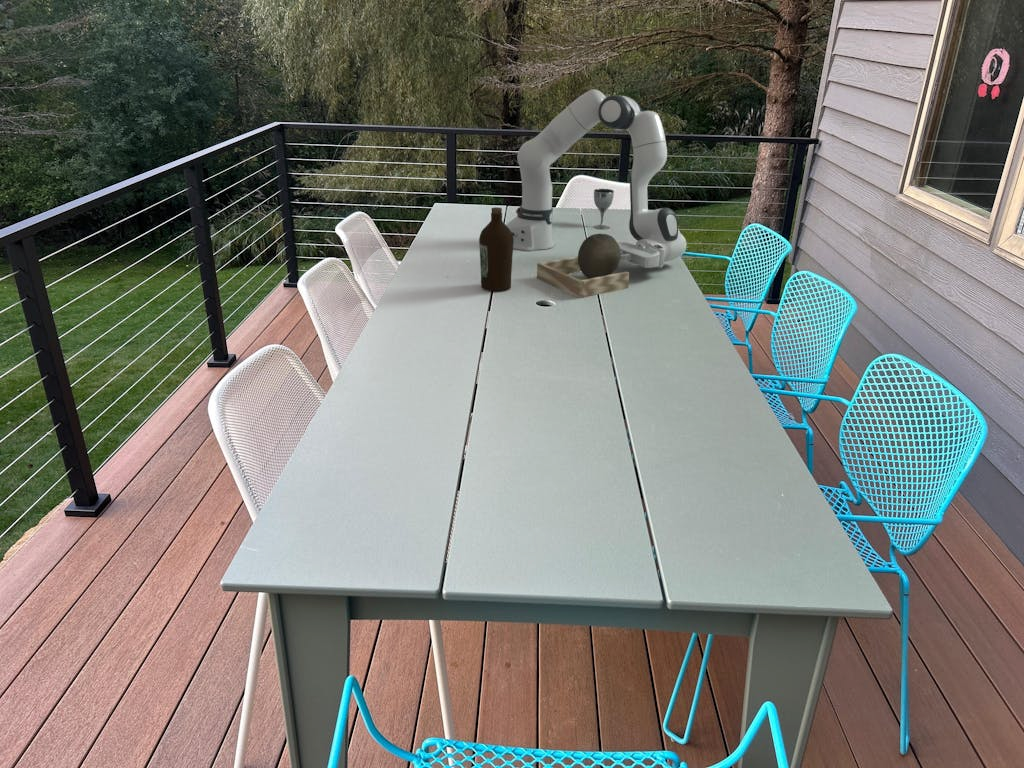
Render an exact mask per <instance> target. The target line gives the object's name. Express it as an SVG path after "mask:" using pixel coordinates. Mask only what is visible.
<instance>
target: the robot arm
mask: <svg viewBox="0 0 1024 768" xmlns="http://www.w3.org/2000/svg"><path fill="white" fill-rule="evenodd" d="M600 123H601V124H602V125H603V126H604V127H606V128H608V129H611V130H615V131H627V133H629V135H630V137H631V139H630V140H631V144H632V150H633V151H632V152H633V160H632V162H633V163H632V168H631V170H630V172H629V174H630V175H629V195H630V196H629V197H630V201H629V203H630V204H629V205H630V216H629V222H628V228H629V232H630V234H631V236H632V238H634V239H635V240H636V241H637V242H636V243H635V244H632V243H630V242H625V241H618V242H617V241H616V242H617V243H618V245H619V247H620V250H621V260H620V262H629V263H631V264H633V265H637V266H639V267H641V268H645V269H652V268H653V269H654V268H663V267H664V262H670V261H673V260H675V259H678V258H680V257H682V255H684V254H685V252H686V250H687V240H686V238H685V236H684V235H683V234H682V233H681V231H680V229H679V222H678V221H679V220H678V217H677V215H676V213H675V212H674V210H673V209H671V208H669V207H662V208H656V209H653V210H649V207H648V206H649V205H648V204H649V201H648V185H649V183H650V182H651V179H652V178H653V177H655V176H656V174H657V173H659V171H661V169H663V168H664V166H665V164H666V162H667V159H668V146H667V142H666V134H665V130H664V127H663V123H662V121H661V118H660V116H659V113H657V112H656V111H653V110H642V106H641V105H640V104H639V103H638V101H637V100H635V99H633V98H631V97H629V96H626V95H620V94H612V95H609V96H606V95H605V94H604V93H603V92H601V91H600V90H598V89H595V88H594V89H589V90H588V91H586V92H584V93H583V94H581V95H580V96H579V97H578V98H576V99H574V100H573V101H572V102H571V103H569V105H567V106H566V107H565V108H564V109H563V110H562V111H561V112H560V113H558V114H557V115H556V116H555V117H554V118H553V119H552V120H551V121H550V122H549V123H548V125H546V126H545V128H544V129H543V130H542V131H540V132H539V133H538V134H537V135H536V136H535V137H534V138H531V139H529V140H527V141H525V142H524V143H523V144H521V146H520V148H519V149H518V152H517V155H516V158H517V160H516V161H517V163H518V166H519V171H520V179H521V187H522V189H521V191H522V193H521V205H519V207H517V209H516V210H515V213H516V215H517V216H516V217H515V218H513V219H511V220H510V221H509V222H508V223H506V224H505V225H506V226H507V227H508V228H509V229H510V231H511V232H512V235H513V239H514V243H513V249H516V250H522V251H526V252H530V251H536V250H539V251H540V250H547V249H552V248H554V247H555V245H556V244H555V241H554V235H553V225H552V223H553V220H554V219H553V218H554V213H553V212H554V209H553V207H552V206H553V189H554V188H553V184H552V180H551V172H550V166H551V165H552V164H554V163H555V162H556V161H557V160H558V159H559V158H560V157H561V156H562V155H564V154H565V153H566V152H567V151H568V150H569V149H570V148H571V147H572V146H574V144H575V143H577V142H578V141H579V140H580V139H582V138H583V137H584V136H585V135H586V134H587V133H589V132H590V130H592V129H593V128H594V127H595V126H596V125H598V124H600Z"/></svg>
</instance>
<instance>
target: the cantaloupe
mask: <svg viewBox="0 0 1024 768" xmlns="http://www.w3.org/2000/svg"><path fill="white" fill-rule="evenodd" d="M577 256H578V264H579V267H580V269H581V271H582V272H581V273H582V275H584V277H586V279H590V278H595V277H601V276H606V275H611V274H614V272H615V271H617V269H618V268H619V265H620V263H621V261H620V260H621V250H620V247H619V245H618V243H617V241H616V238H614V237H613V236H612V235H610V234H606V233H595V234H591V235H589V236H588V237H586V238H585V239H584V240H583V242H582V243H581V245H580V247H579V249H578V253H577Z"/></svg>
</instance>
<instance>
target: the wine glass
mask: <svg viewBox="0 0 1024 768" xmlns="http://www.w3.org/2000/svg"><path fill="white" fill-rule="evenodd" d="M614 192H615V191H614V190H613V189H610V188H595V189H594V190H593V202H594V205H595V207H596V209H598V211H599V213H600V224H597V225H596V224H595V225H593V226H592V228H593V229H597V230H610V229H611V227H610V226H608V225H605V224H603V222H604V216H605V213H606V211H607V210H608V209H609V208H610V207H611V205H612V204H613V200H614Z"/></svg>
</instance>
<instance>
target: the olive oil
mask: <svg viewBox="0 0 1024 768" xmlns="http://www.w3.org/2000/svg"><path fill="white" fill-rule="evenodd" d="M502 211H503V208H502V207H492V208H491V213H490V222H488V223H487V225H486V226H484V227H483V229H482V230H481V232H480V235H479V239H478V244H479V245H478V247H479V259H480V261H479V262H480V263H479V264H480V287H481V289H482V290H485V291H486V290H487V292H491V291H492V292H491V293H497V292H499V293H501V292H506V291H508V290H510V289H511V287H512V273H513V272H512V271H513V270H512V268H513V267H512V266H513V257H514V256H513V254H514V248H513V243H514V239H513V235H512V232H511V231H510V229H509V228H508V227H507V226H506V224H505V222H504V221H503V213H502Z"/></svg>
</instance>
